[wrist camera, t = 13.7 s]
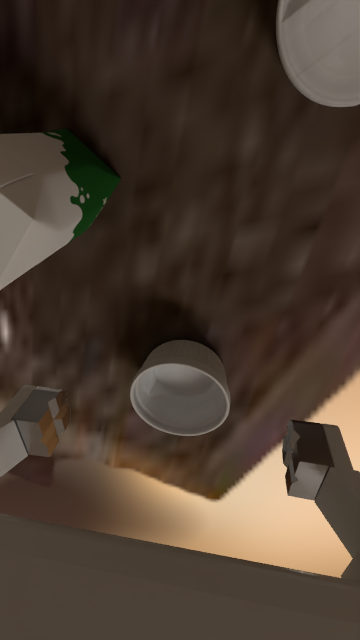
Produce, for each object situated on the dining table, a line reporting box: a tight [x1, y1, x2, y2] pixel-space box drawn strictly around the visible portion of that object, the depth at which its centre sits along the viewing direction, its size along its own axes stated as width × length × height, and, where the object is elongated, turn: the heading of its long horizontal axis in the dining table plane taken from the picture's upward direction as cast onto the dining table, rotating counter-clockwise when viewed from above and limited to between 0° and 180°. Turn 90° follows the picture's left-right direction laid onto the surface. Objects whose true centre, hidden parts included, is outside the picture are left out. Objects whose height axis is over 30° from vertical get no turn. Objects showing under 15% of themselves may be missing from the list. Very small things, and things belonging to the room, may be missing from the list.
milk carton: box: [0, 128, 121, 290], centre depth 26 cm, size 9×9×20 cm
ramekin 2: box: [276, 0, 360, 107], centre depth 23 cm, size 11×11×5 cm
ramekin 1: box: [130, 340, 230, 436], centre depth 44 cm, size 13×13×7 cm
